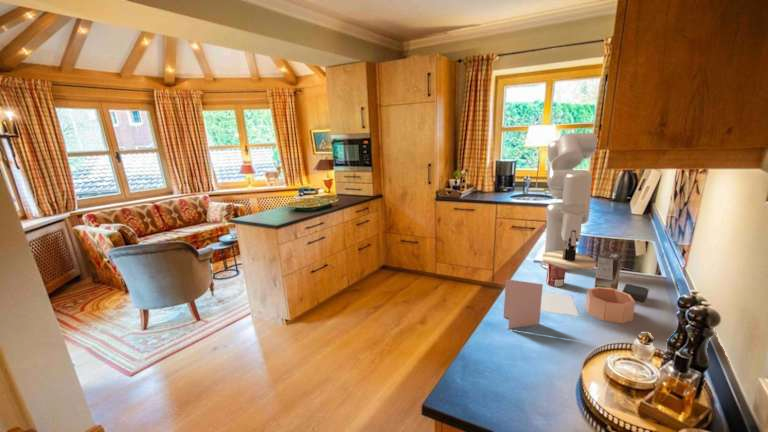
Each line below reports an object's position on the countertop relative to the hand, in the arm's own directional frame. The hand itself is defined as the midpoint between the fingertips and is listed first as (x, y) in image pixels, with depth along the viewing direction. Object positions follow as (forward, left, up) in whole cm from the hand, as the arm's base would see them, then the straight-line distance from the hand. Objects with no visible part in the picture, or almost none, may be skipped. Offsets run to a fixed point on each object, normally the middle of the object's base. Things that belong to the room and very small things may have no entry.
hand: (568, 257), depth 119 cm
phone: (-20, +27, -20) cm, 39 cm away
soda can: (-18, -1, -19) cm, 27 cm away
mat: (0, -4, -19) cm, 20 cm away
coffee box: (-16, +17, -19) cm, 31 cm away
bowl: (+2, +14, -19) cm, 24 cm away
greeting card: (+20, -15, -19) cm, 32 cm away
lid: (0, 0, -1) cm, 1 cm away
